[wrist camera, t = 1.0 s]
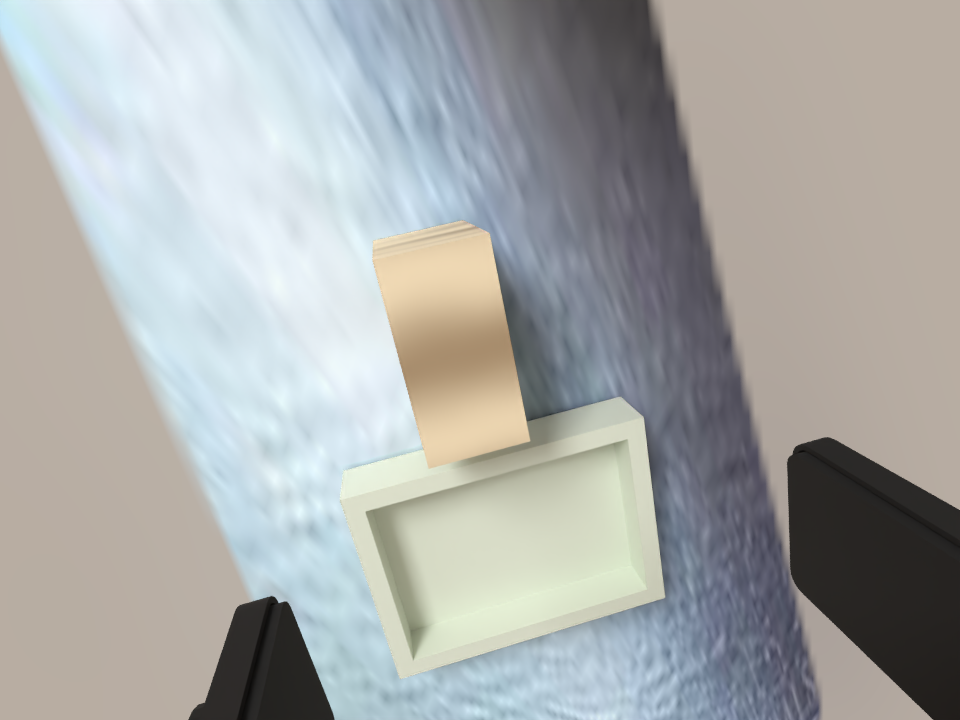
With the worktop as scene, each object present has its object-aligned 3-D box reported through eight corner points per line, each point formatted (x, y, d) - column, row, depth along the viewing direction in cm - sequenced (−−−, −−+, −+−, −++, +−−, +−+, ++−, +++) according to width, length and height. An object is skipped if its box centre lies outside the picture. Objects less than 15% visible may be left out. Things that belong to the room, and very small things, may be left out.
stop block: (373, 240, 28) (372, 260, 21) (462, 220, 28) (489, 233, 22) (417, 406, 31) (428, 468, 24) (497, 385, 31) (530, 441, 24)
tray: (343, 470, 31) (339, 500, 28) (620, 396, 32) (643, 417, 30) (398, 638, 35) (400, 679, 32) (642, 565, 36) (665, 597, 34)
